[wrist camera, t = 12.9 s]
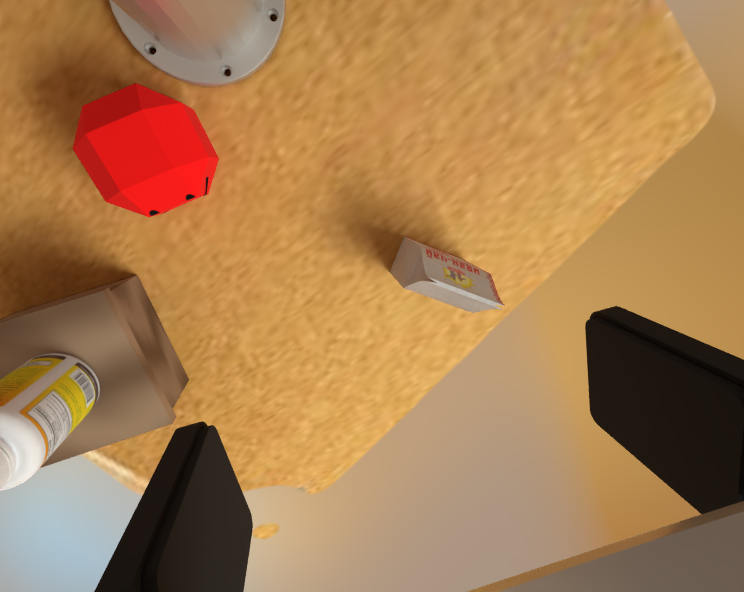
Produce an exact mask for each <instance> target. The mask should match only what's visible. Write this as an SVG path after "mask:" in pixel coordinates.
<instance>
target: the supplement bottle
mask: <svg viewBox="0 0 744 592" xmlns="http://www.w3.org/2000/svg"><path fill="white" fill-rule="evenodd" d="M99 393H100V386H99V381H98V378H97V376H96V374H95V373H94V371H93V370H92V369H91V368H90V367H89V366H88V365H87V364H86V363H84V362H83V361H81V360H79V359H77V358H75V357H73V356H70V355H66V354H57V353H51V354H44V355H40V356H37V357H34V358H32V359H30V360H29V361H27V362H26V363H24V364H23V365H21V366H20V367H18V368H17V369H15V370H14V371H13V372H11V373H10V374H8V375H7V376H5V377H4V378H2V379H1V380H0V491H1V490H6V489H10V488H13V487H15V486H17V485H20V484H22V483H23V482H25V481H26V480H28V479H29V478H30V477H31V476H33V475H34V474H35V473H36V472H37V471H38V469H39V468H40V467H41V466H42V465H43V464H44V463H45V461H46V460H47V459H48V458H49V457H50V456H51V455H52V453H53V452H54V451H55V450H56V449H57V448H58V447H59V445H61V443H62V442H63V441H64V440H65V439H66V438H67V436H68V435H69V434H70V433H71V432H72V431H73V430H74V429H75V427H76V426H77V425H78V424H79V423H80V422H81V421H82V420H83V418H84V417H85V416H86V415H87V414H88V413H89V412H90V411H91V409H92V408H93V407H94V405H95V404H96V402H97V400H98V397H99Z"/></svg>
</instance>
